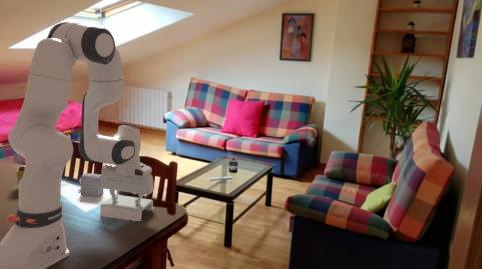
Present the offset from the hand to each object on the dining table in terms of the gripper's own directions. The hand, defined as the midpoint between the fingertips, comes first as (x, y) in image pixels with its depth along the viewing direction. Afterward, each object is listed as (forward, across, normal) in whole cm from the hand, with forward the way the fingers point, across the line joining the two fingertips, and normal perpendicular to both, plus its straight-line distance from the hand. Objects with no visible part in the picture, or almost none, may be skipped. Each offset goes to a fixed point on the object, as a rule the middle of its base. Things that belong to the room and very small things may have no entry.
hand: (126, 202), depth 150 cm
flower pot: (+5, -50, +11) cm, 52 cm away
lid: (+1, 0, +1) cm, 1 cm away
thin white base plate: (+5, 0, +1) cm, 5 cm away
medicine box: (+5, -23, +15) cm, 28 cm away
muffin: (+5, -29, +21) cm, 36 cm away
